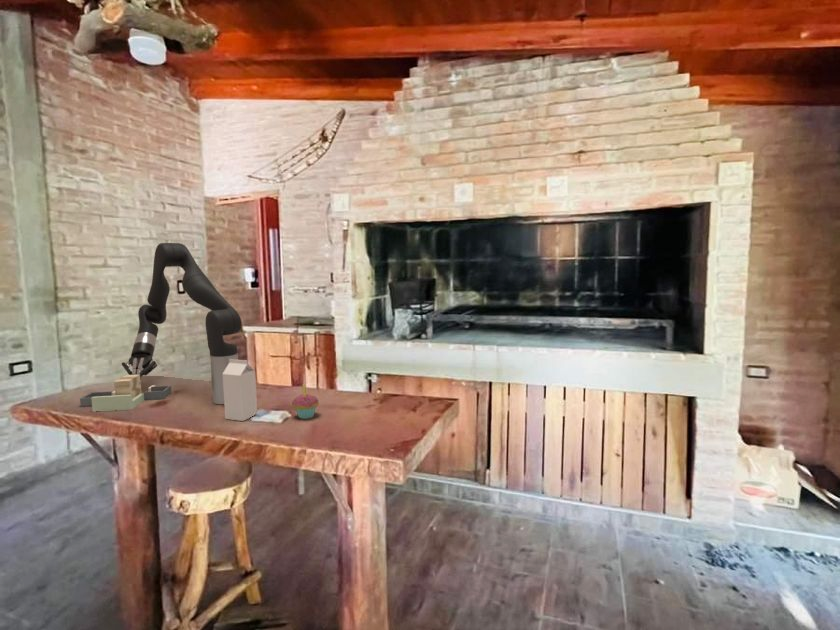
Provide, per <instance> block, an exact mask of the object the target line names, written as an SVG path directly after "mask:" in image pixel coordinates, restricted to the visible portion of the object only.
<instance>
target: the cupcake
mask: <svg viewBox="0 0 840 630" xmlns="http://www.w3.org/2000/svg"><path fill="white" fill-rule="evenodd" d="M302 391H303V394H300V395H298V396H296V397H295V398H294V399H293V400H292V401H291V407H292V408H293V409H295V411H296V413H297V416H298V418H300V419H302V420H305V419H306V420H307V419H311V418H313V417H314V416H315V412H316V409H317V407H318V406H319V399H318V397H317V396H313V395H312V394H307V393H306V383H305V382H304V381H303V384H302Z"/></svg>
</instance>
